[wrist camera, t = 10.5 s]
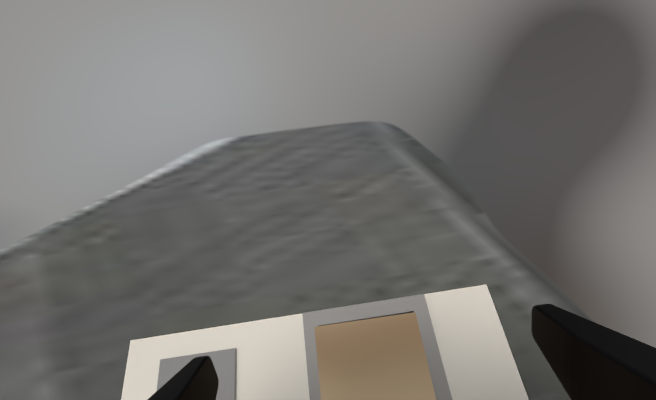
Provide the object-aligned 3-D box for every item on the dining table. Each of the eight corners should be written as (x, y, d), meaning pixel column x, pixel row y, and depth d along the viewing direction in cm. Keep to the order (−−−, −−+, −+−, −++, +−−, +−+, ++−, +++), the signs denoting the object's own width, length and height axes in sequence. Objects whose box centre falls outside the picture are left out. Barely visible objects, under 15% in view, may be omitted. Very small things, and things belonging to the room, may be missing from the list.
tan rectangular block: (415, 426, 17) (459, 490, 8) (352, 434, 17) (329, 505, 8) (397, 336, 19) (416, 312, 10) (341, 344, 19) (313, 327, 11)
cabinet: (544, 458, 17) (584, 480, 13) (112, 513, 18) (57, 544, 15) (482, 287, 21) (501, 273, 18) (138, 341, 22) (99, 337, 19)
